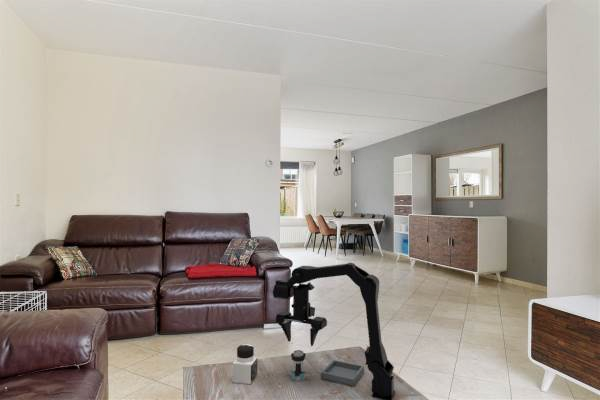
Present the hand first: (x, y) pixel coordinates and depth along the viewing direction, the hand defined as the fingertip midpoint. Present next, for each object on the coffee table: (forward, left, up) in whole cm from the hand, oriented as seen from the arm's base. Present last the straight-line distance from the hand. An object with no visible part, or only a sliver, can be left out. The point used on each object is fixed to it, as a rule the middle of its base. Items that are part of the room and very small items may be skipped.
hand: (300, 343), depth 136 cm
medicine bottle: (+18, +9, -13) cm, 24 cm away
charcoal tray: (-13, -10, -13) cm, 21 cm away
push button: (0, 0, -13) cm, 13 cm away
